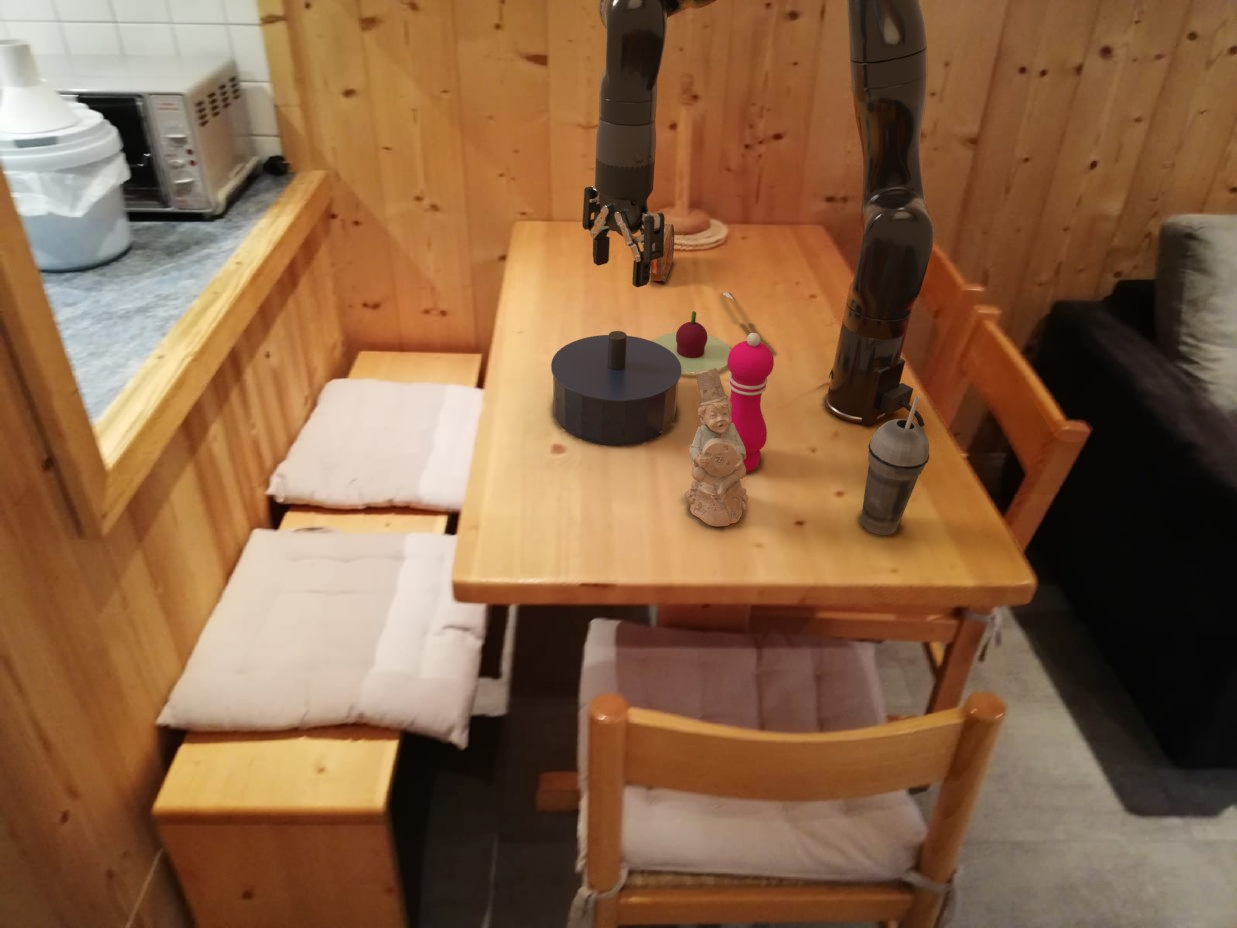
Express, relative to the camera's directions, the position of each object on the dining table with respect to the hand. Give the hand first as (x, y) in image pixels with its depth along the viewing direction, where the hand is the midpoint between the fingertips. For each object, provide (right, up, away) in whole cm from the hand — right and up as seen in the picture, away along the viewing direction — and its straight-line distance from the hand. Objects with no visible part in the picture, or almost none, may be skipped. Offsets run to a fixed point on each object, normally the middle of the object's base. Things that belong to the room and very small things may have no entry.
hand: (620, 274), depth 124 cm
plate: (+12, -8, +28) cm, 31 cm away
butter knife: (+22, -1, +38) cm, 44 cm away
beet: (+12, -7, +27) cm, 30 cm away
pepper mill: (+16, -26, +4) cm, 31 cm away
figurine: (+12, -32, -5) cm, 35 cm away
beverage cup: (+33, -34, -6) cm, 48 cm away
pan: (-1, -18, +13) cm, 22 cm away
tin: (+8, +12, +54) cm, 56 cm away
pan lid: (-1, -12, +8) cm, 15 cm away
